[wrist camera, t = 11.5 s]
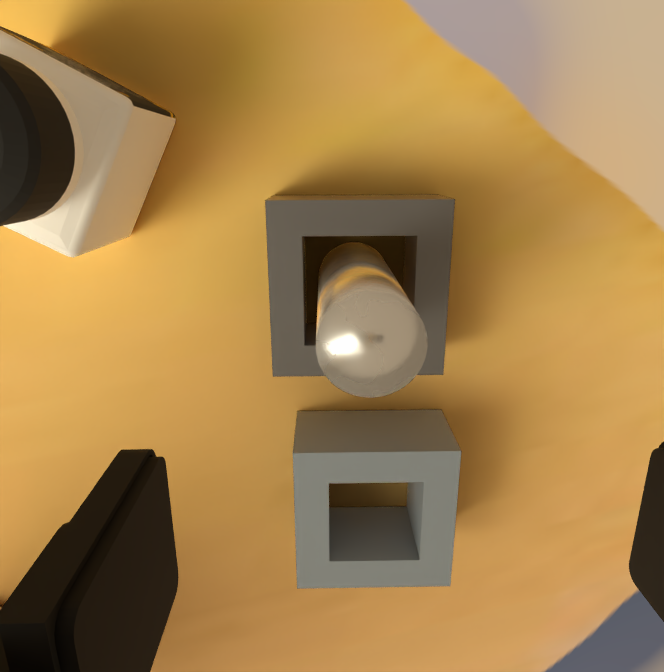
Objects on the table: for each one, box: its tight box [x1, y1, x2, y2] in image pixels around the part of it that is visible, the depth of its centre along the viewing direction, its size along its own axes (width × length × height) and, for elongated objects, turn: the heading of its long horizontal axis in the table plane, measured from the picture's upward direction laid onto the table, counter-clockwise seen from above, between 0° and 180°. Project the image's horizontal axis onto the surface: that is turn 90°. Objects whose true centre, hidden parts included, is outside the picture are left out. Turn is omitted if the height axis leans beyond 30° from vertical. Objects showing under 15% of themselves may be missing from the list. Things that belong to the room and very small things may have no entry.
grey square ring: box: [265, 195, 455, 377], centre depth 28 cm, size 9×9×4 cm
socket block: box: [293, 410, 461, 588], centre depth 32 cm, size 9×9×5 cm
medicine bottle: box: [0, 26, 176, 257], centre depth 22 cm, size 7×7×12 cm
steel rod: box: [316, 242, 428, 398], centre depth 24 cm, size 4×4×12 cm
